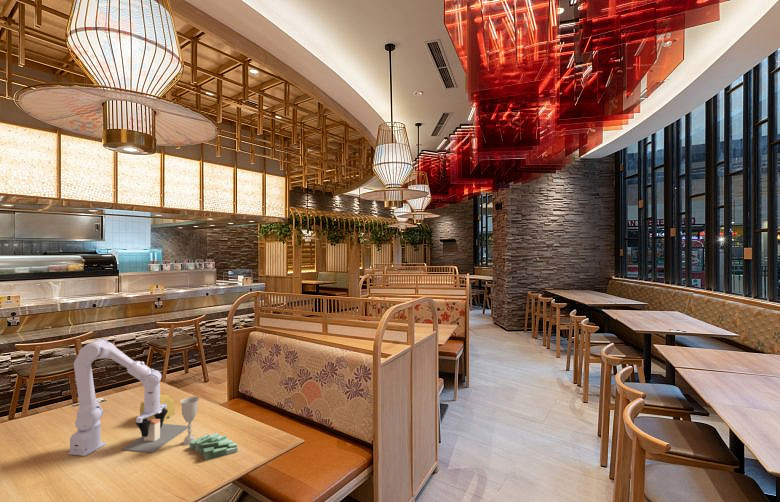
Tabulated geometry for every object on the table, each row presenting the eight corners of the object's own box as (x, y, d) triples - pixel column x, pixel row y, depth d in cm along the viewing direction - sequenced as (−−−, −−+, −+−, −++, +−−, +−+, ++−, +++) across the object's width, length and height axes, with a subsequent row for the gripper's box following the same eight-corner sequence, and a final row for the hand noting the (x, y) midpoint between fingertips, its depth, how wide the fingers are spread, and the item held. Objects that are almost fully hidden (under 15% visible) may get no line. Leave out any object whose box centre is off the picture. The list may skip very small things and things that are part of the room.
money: (180, 454, 147) (180, 442, 147) (213, 435, 163) (213, 425, 162) (218, 466, 140) (218, 453, 140) (249, 445, 155) (249, 433, 155)
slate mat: (152, 452, 148) (152, 451, 148) (121, 449, 150) (121, 448, 150) (189, 426, 170) (189, 426, 170) (162, 424, 172) (162, 423, 172)
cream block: (154, 441, 156) (154, 422, 156) (144, 440, 157) (144, 421, 157) (160, 437, 159) (160, 419, 159) (149, 436, 160) (149, 418, 160)
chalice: (190, 447, 152) (190, 404, 152) (176, 445, 154) (176, 402, 153) (202, 438, 159) (202, 397, 159) (188, 436, 161) (189, 395, 161)
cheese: (175, 414, 183) (175, 394, 182) (159, 424, 172) (159, 403, 172) (155, 413, 184) (155, 393, 184) (138, 423, 173) (138, 402, 173)
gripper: (147, 408, 150) (146, 441, 150) (173, 394, 164) (172, 424, 165) (131, 407, 151) (131, 439, 151) (158, 393, 166) (158, 423, 166)
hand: (152, 431), depth 158 cm, fingers open, 7 cm apart
